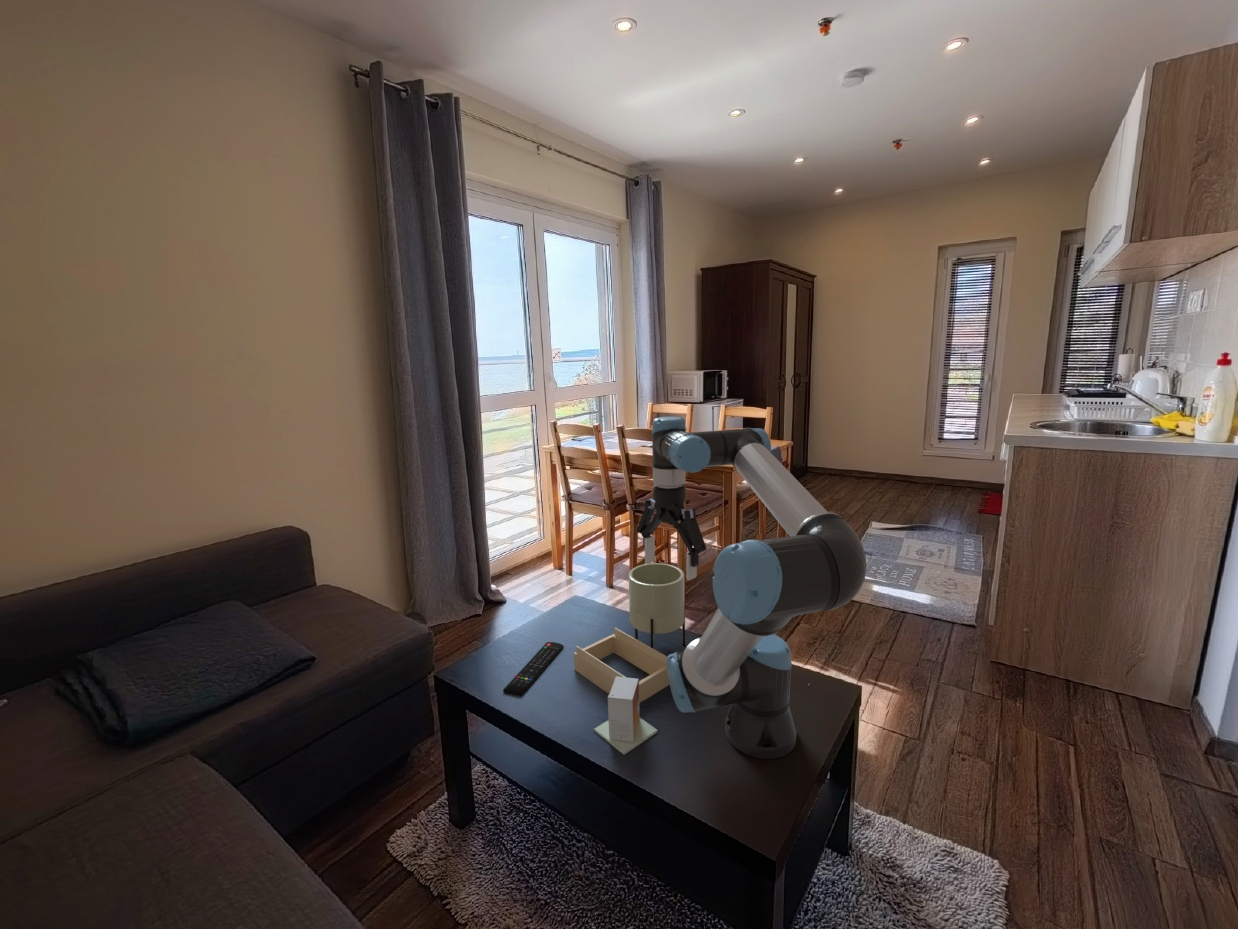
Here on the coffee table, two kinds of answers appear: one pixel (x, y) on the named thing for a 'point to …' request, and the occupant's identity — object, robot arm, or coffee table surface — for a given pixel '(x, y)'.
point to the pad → (624, 747)
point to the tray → (629, 650)
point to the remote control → (533, 669)
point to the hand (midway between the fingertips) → (669, 570)
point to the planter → (657, 599)
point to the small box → (623, 709)
